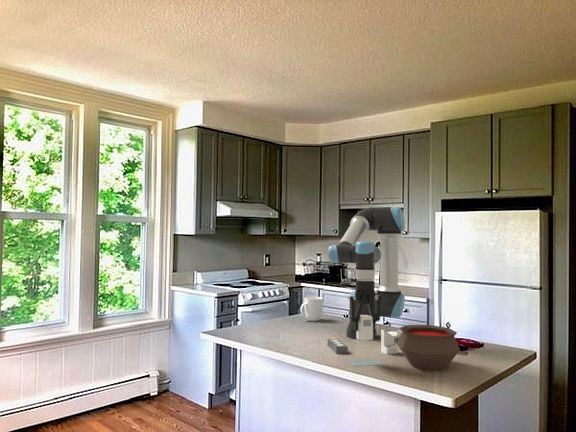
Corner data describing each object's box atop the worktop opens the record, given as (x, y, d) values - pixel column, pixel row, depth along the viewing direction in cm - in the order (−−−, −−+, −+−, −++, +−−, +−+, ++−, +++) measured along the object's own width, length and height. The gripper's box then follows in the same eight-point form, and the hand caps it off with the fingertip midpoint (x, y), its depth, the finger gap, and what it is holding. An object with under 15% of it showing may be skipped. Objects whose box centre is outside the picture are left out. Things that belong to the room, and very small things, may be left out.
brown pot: (424, 377, 163) (423, 331, 164) (384, 360, 185) (384, 319, 186) (474, 370, 173) (473, 326, 173) (430, 354, 195) (430, 315, 195)
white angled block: (373, 348, 195) (381, 329, 197) (388, 357, 198) (396, 339, 201) (378, 350, 191) (386, 331, 194) (394, 359, 195) (402, 340, 197)
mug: (306, 323, 258) (306, 300, 258) (295, 320, 266) (295, 298, 267) (326, 320, 266) (326, 298, 267) (314, 317, 275) (315, 296, 276)
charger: (366, 337, 185) (366, 314, 186) (373, 339, 178) (372, 316, 179) (356, 337, 184) (355, 315, 185) (362, 340, 177) (361, 316, 178)
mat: (374, 359, 186) (374, 358, 186) (383, 365, 177) (383, 364, 177) (346, 360, 184) (346, 359, 184) (354, 367, 175) (354, 366, 175)
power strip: (334, 342, 213) (334, 334, 213) (347, 353, 194) (347, 345, 194) (323, 343, 212) (324, 335, 213) (336, 354, 193) (336, 345, 193)
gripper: (382, 278, 187) (381, 336, 186) (341, 279, 184) (340, 337, 183) (389, 280, 180) (389, 340, 179) (347, 281, 176) (346, 341, 175)
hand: (364, 338), depth 181 cm, fingers closed on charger, 4 cm apart
